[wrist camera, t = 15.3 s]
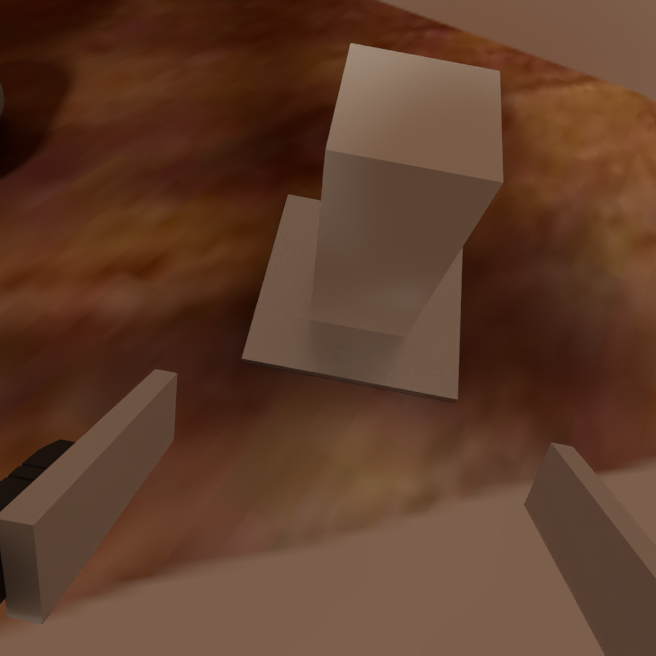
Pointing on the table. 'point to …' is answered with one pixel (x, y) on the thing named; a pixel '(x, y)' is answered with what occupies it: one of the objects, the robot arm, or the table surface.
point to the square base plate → (346, 342)
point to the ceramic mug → (1, 99)
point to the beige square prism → (402, 184)
